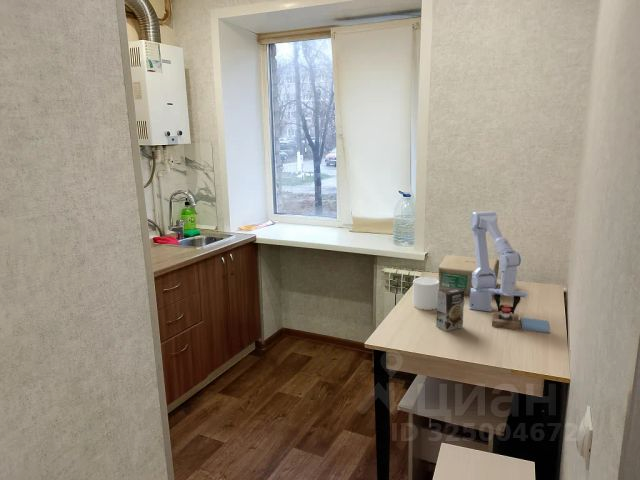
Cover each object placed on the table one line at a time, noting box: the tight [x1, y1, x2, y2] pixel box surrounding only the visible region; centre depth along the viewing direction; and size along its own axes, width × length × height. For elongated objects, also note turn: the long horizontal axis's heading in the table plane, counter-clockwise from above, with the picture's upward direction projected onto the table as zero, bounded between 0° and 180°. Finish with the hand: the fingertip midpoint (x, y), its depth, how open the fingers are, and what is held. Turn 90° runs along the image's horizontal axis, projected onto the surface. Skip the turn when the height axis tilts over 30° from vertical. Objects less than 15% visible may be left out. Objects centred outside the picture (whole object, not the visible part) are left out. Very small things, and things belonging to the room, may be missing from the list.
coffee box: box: [435, 287, 465, 332], centre depth 190 cm, size 9×6×16 cm
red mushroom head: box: [500, 303, 513, 320], centre depth 193 cm, size 5×5×7 cm
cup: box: [412, 276, 439, 311], centre depth 214 cm, size 12×12×12 cm
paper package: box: [437, 254, 500, 298], centre depth 236 cm, size 27×26×14 cm
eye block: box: [491, 311, 520, 330], centre depth 194 cm, size 10×10×2 cm
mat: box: [520, 317, 550, 334], centre depth 191 cm, size 10×12×1 cm
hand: (505, 312), depth 193 cm, fingers closed on red mushroom head, 5 cm apart
